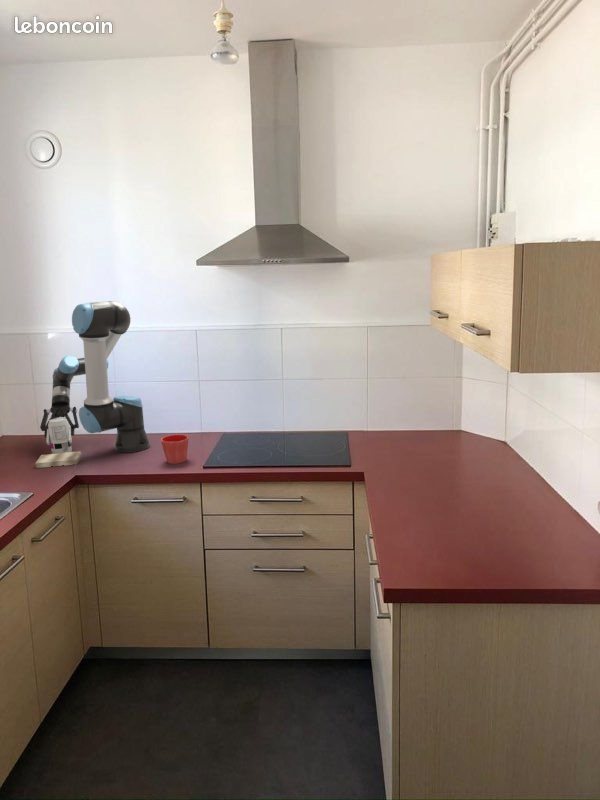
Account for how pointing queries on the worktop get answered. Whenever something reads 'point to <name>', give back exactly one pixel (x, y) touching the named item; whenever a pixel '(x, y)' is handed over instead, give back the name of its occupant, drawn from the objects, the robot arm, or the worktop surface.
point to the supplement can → (59, 435)
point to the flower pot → (175, 448)
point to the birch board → (58, 459)
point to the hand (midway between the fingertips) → (59, 442)
